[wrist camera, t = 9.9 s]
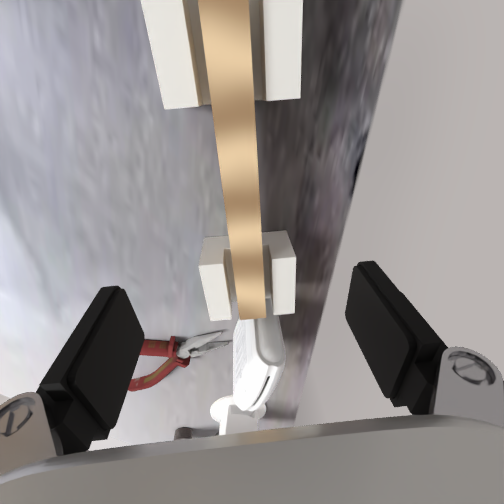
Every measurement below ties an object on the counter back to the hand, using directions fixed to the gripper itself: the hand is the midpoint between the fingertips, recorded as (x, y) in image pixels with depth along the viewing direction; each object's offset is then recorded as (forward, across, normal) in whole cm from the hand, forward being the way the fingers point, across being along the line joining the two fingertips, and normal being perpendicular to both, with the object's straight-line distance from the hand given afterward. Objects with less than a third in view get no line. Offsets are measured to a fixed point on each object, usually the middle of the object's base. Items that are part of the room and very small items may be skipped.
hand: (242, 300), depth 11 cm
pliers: (+20, +14, +30) cm, 39 cm away
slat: (+17, 0, +1) cm, 17 cm away
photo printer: (+20, 0, +22) cm, 29 cm away
